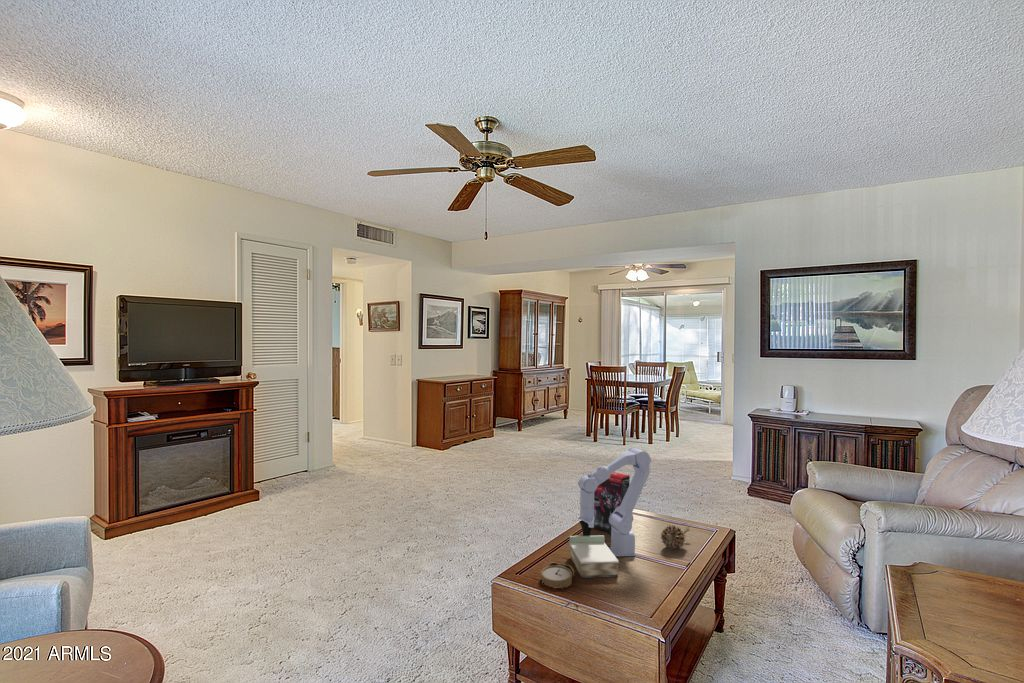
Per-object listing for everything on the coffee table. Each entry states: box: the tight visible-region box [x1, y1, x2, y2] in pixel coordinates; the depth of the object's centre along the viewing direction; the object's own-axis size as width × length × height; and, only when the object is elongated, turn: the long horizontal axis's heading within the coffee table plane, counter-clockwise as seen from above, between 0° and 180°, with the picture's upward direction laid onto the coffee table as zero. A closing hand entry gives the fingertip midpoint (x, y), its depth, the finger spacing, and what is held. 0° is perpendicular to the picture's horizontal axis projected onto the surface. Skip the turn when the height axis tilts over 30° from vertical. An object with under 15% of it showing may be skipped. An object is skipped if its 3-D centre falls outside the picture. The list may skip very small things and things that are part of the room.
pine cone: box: [660, 524, 691, 550], centre depth 223 cm, size 22×10×10 cm, turn 140°
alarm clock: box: [540, 561, 575, 589], centre depth 187 cm, size 11×5×15 cm
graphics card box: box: [592, 471, 631, 534], centre depth 239 cm, size 17×7×27 cm, turn 43°
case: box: [569, 547, 619, 579], centre depth 199 cm, size 14×18×5 cm
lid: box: [569, 534, 620, 564], centre depth 199 cm, size 14×20×6 cm
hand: (586, 539), depth 209 cm, fingers closed, pressing on lid
